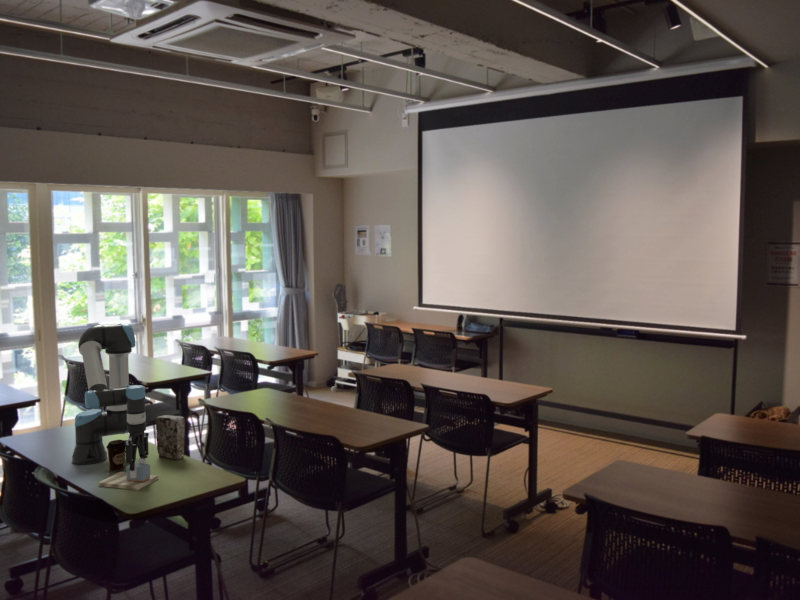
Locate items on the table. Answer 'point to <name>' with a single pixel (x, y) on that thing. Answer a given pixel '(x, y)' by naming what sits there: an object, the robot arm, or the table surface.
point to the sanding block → (139, 472)
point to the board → (126, 481)
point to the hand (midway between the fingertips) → (137, 475)
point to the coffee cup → (116, 455)
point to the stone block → (170, 436)
